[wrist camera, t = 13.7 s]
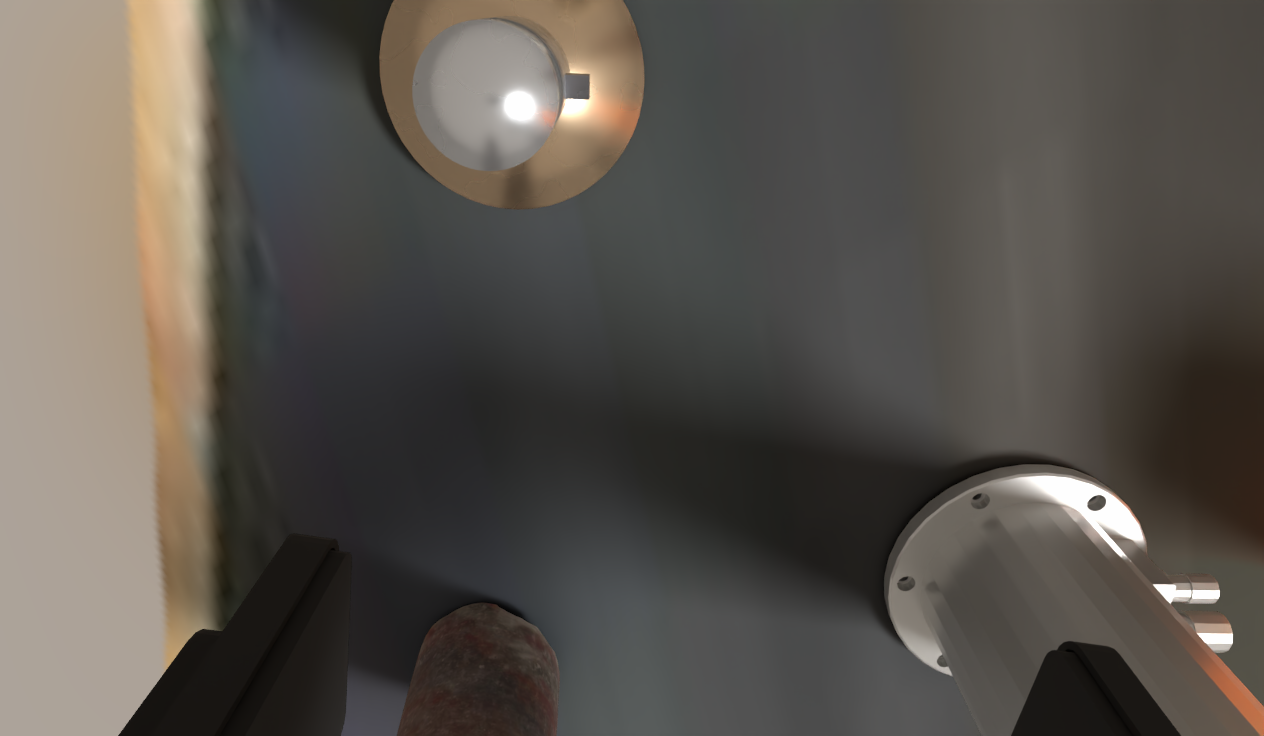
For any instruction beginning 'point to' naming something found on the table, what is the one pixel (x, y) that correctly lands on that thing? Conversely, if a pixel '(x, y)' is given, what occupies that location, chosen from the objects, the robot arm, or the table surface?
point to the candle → (483, 678)
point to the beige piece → (513, 93)
